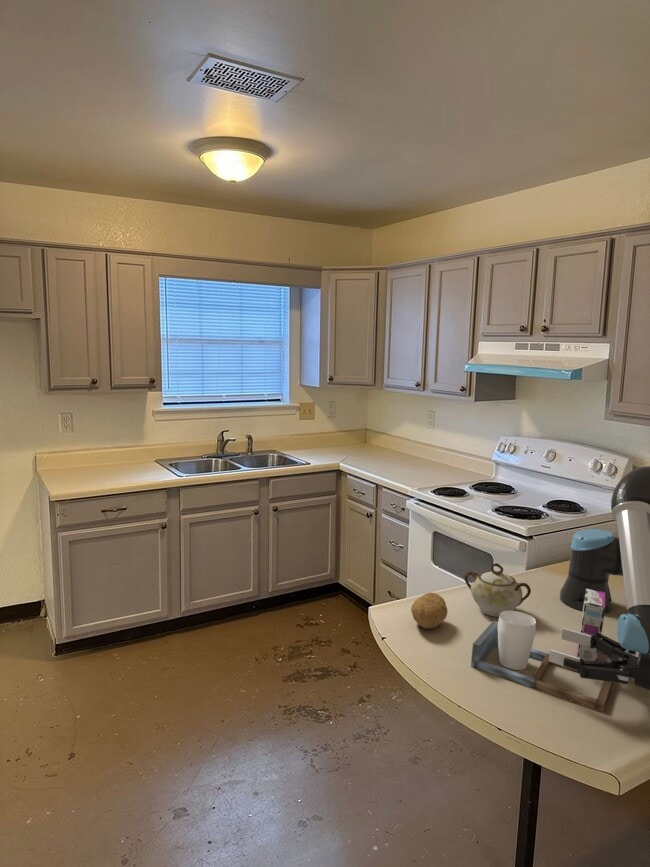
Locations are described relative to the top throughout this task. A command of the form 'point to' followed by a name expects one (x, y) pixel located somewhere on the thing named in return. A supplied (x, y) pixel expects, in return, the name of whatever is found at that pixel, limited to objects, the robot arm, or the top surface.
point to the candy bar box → (591, 622)
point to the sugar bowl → (496, 591)
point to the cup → (515, 638)
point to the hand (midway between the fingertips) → (556, 643)
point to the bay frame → (490, 640)
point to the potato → (429, 610)
